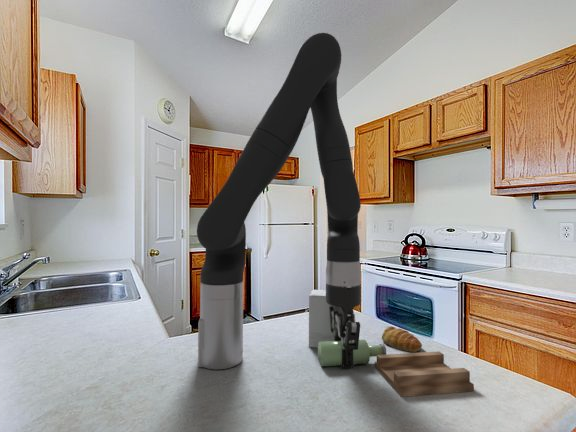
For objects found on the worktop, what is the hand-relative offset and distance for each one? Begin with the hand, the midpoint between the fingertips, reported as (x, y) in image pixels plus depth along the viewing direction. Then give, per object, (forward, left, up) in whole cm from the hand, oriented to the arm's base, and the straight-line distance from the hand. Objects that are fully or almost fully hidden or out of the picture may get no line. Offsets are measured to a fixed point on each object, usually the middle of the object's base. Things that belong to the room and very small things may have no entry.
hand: (343, 360), depth 66 cm
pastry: (+18, +9, -1) cm, 20 cm away
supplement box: (-1, +12, -1) cm, 12 cm away
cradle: (+13, -8, -1) cm, 15 cm away
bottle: (+2, 0, -1) cm, 2 cm away
